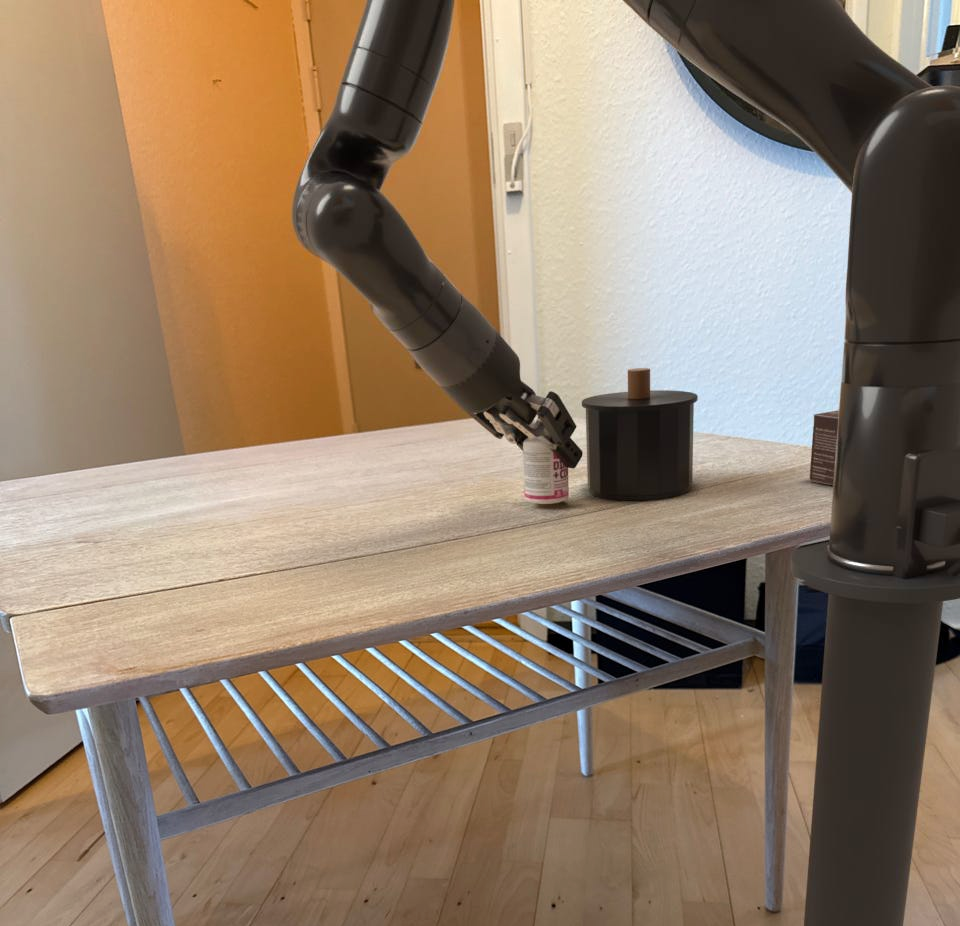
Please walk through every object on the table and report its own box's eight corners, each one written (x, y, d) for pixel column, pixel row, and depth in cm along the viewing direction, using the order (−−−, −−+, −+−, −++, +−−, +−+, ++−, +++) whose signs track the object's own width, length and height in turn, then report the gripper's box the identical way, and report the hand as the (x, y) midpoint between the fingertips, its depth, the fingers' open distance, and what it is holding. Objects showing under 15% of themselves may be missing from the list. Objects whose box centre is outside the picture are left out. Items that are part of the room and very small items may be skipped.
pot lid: (721, 406, 97) (722, 366, 95) (620, 421, 92) (619, 379, 91) (655, 397, 107) (655, 360, 106) (561, 409, 103) (560, 371, 102)
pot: (712, 489, 100) (714, 401, 97) (622, 506, 96) (621, 414, 93) (654, 473, 110) (654, 392, 107) (570, 487, 106) (567, 403, 103)
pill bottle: (563, 505, 96) (560, 423, 93) (519, 504, 98) (515, 424, 94) (573, 494, 100) (571, 416, 97) (531, 494, 102) (528, 417, 99)
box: (849, 473, 103) (854, 406, 100) (892, 481, 98) (899, 411, 95) (807, 481, 101) (812, 413, 98) (850, 490, 96) (855, 419, 93)
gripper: (531, 320, 83) (625, 436, 94) (438, 322, 93) (532, 425, 104) (489, 388, 81) (588, 496, 93) (400, 381, 92) (499, 479, 103)
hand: (558, 458), depth 98 cm, fingers closed on pill bottle, 4 cm apart
